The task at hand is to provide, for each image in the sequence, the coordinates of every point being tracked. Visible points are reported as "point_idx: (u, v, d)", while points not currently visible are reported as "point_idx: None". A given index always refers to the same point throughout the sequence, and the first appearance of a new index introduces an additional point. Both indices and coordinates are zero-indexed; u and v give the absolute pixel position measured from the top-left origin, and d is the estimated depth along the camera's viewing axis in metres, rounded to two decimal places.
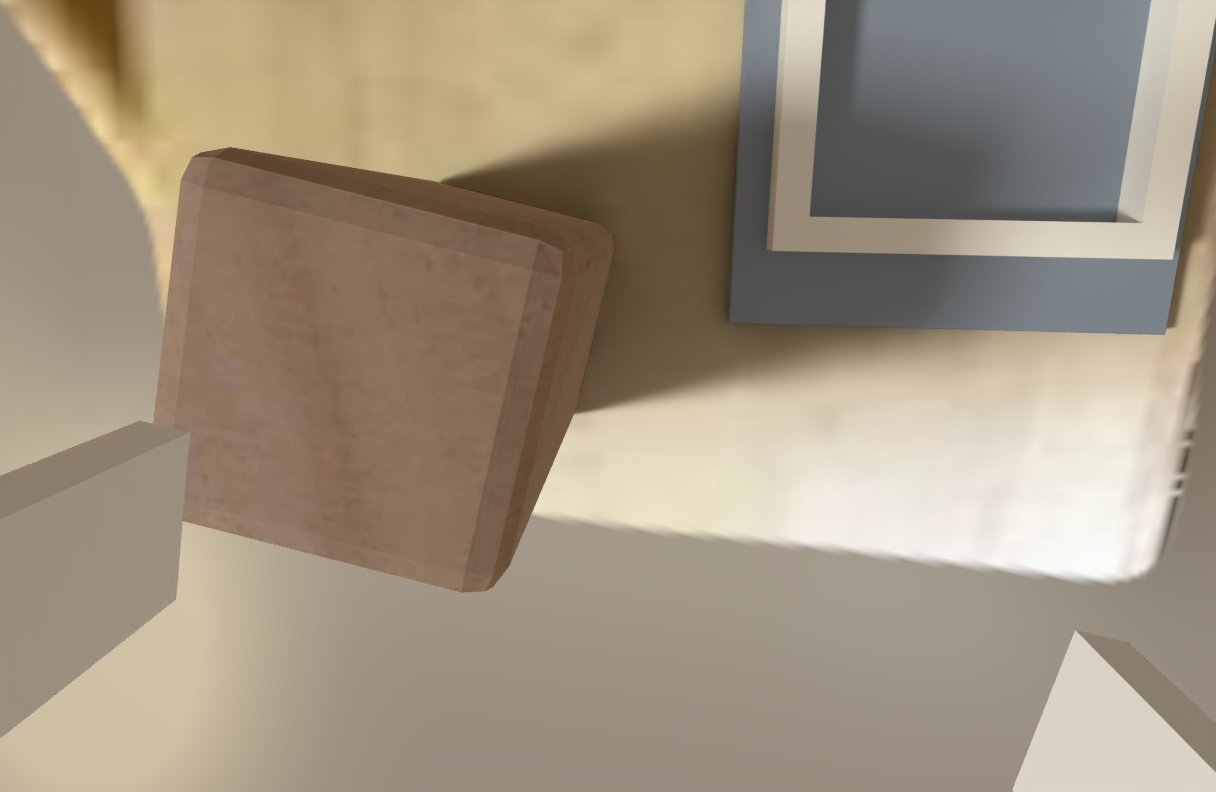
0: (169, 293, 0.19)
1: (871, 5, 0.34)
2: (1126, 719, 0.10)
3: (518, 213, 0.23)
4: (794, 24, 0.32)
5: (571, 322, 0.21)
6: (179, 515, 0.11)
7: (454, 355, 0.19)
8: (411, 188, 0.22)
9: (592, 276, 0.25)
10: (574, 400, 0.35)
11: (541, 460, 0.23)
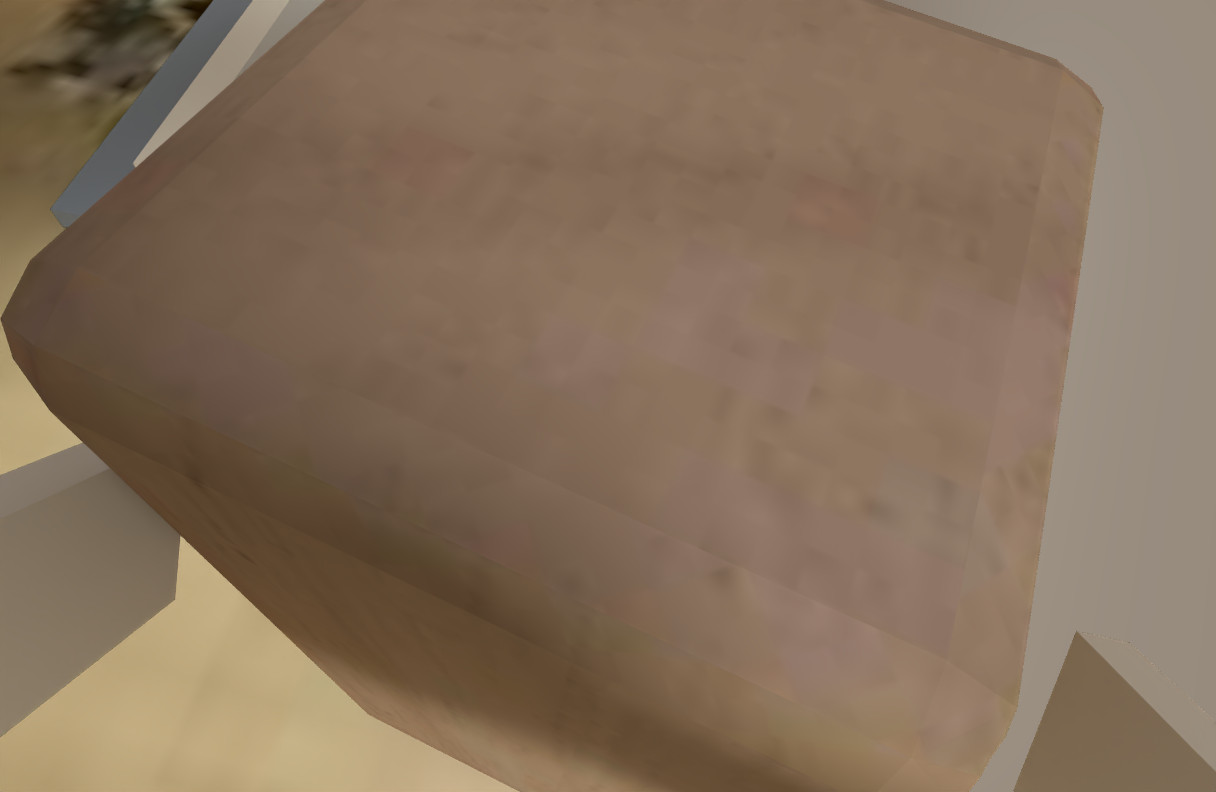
0: (309, 466, 0.06)
1: None
2: (1128, 720, 0.10)
3: None
4: None
5: None
6: None
7: None
8: None
9: None
10: None
11: None
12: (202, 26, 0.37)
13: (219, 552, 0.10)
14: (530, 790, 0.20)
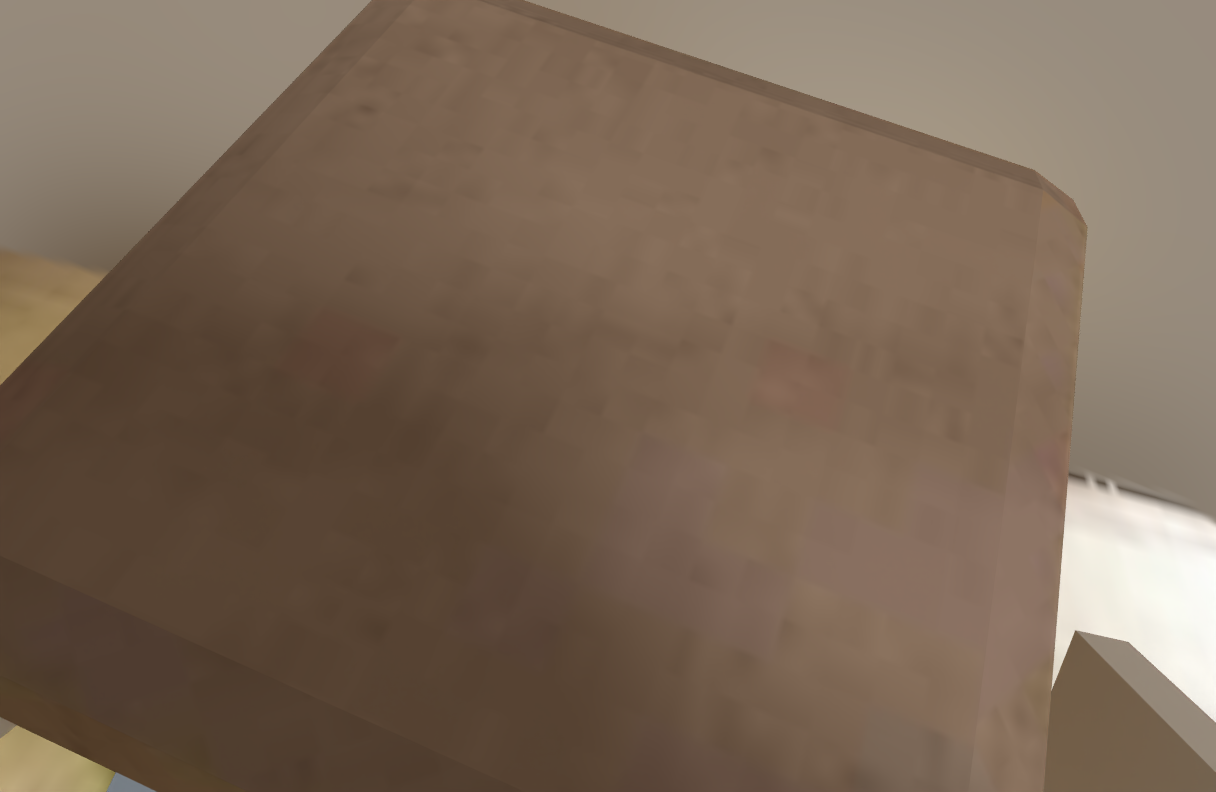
0: (207, 763, 0.06)
1: None
2: (1127, 720, 0.10)
3: None
4: None
5: None
6: None
7: (562, 109, 0.09)
8: None
9: None
10: None
11: None
12: None
13: None
14: None
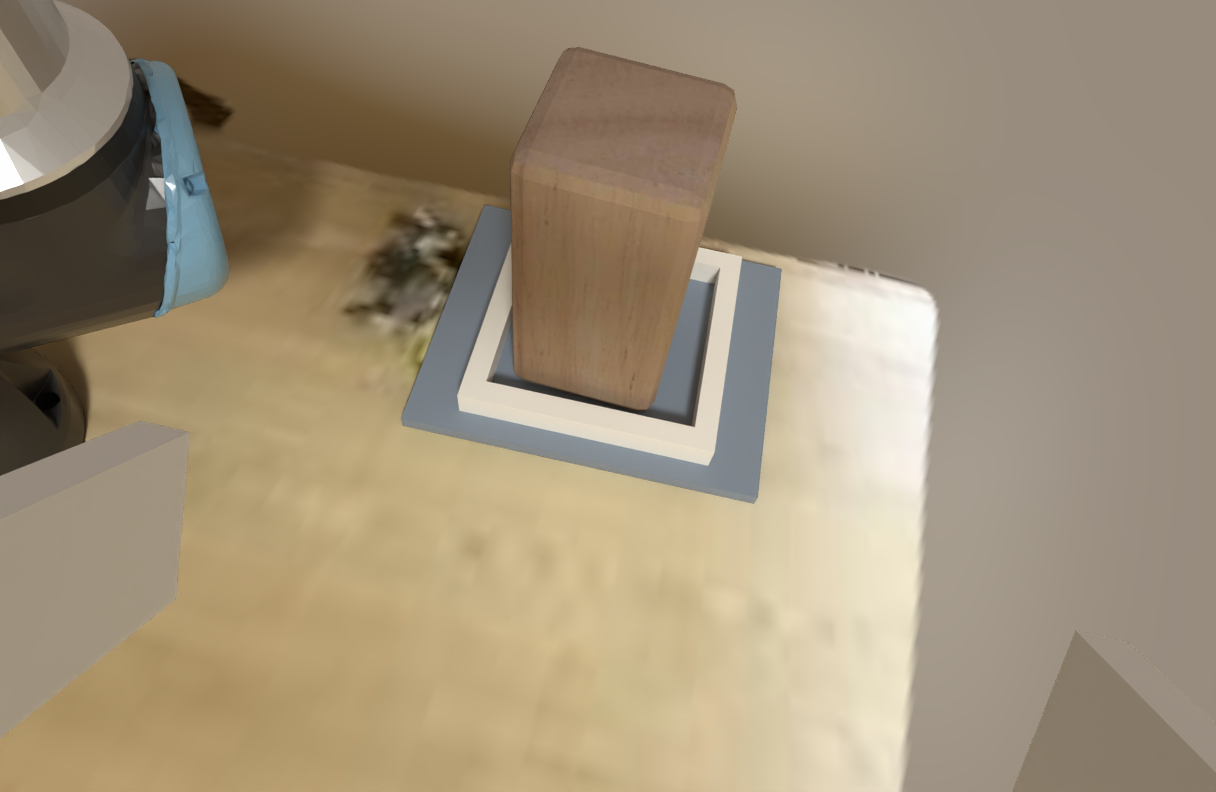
0: (581, 177, 0.37)
1: None
2: (1126, 720, 0.10)
3: None
4: (574, 417, 0.51)
5: None
6: (179, 515, 0.11)
7: (614, 77, 0.40)
8: None
9: None
10: None
11: None
12: (461, 278, 0.58)
13: (535, 227, 0.40)
14: (599, 380, 0.51)
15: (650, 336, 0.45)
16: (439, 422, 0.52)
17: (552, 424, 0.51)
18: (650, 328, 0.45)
